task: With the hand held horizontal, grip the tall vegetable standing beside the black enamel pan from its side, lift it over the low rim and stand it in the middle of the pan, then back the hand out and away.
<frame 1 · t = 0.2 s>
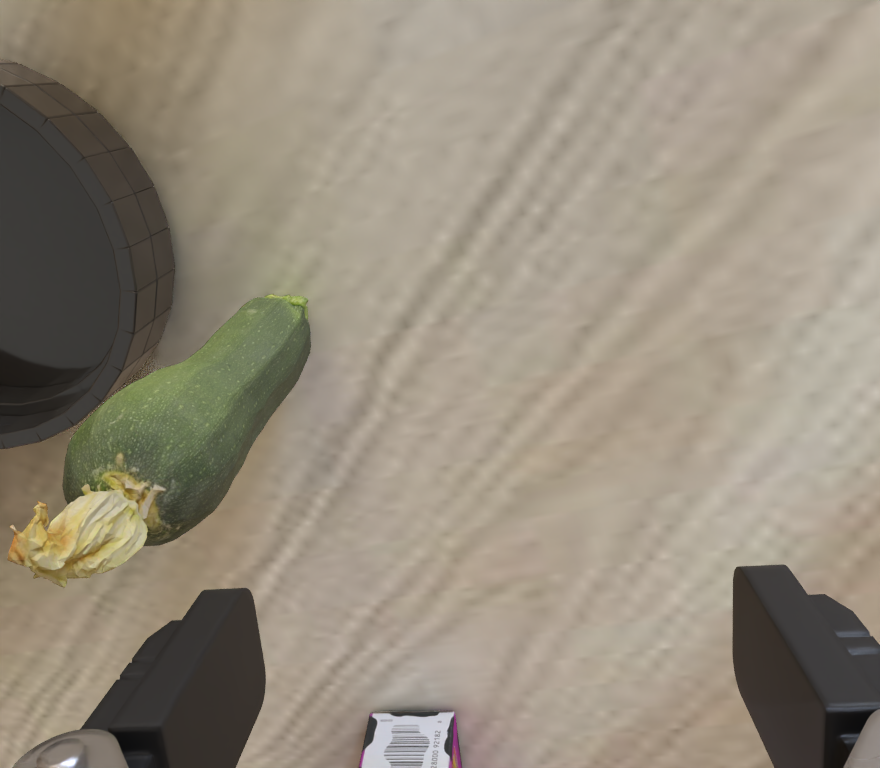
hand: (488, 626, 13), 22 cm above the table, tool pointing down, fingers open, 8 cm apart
pan: (6, 244, 35), on the table
vegetable: (277, 319, 36), on the table
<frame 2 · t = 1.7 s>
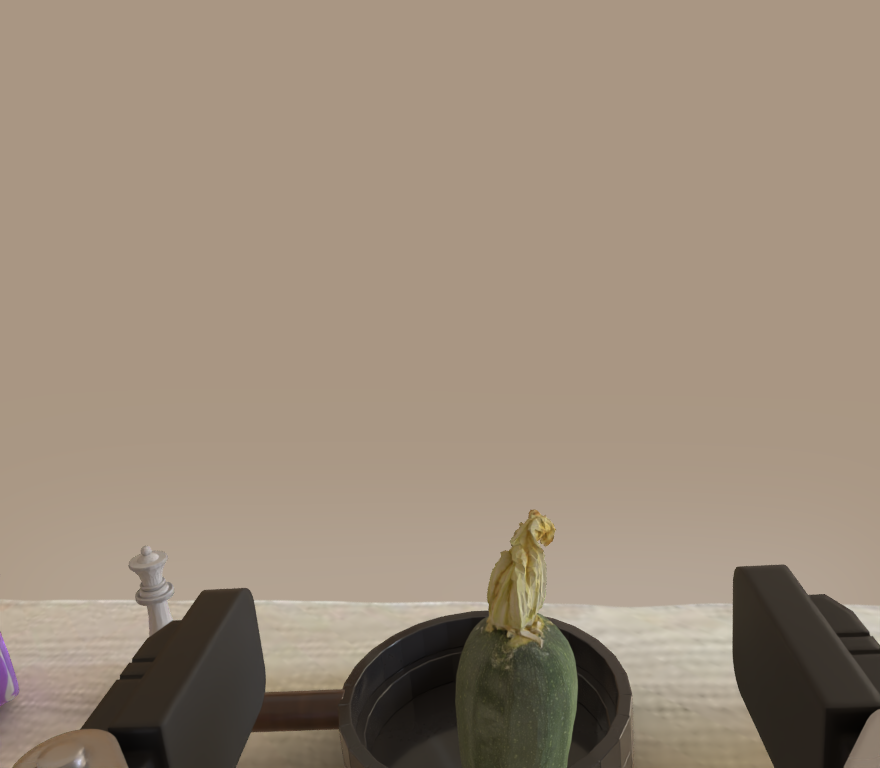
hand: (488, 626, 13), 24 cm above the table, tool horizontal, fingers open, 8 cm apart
chess piece: (174, 685, 53), on the table
pan: (489, 759, 44), on the table
pan handle: (247, 712, 44), point 3 cm above the table
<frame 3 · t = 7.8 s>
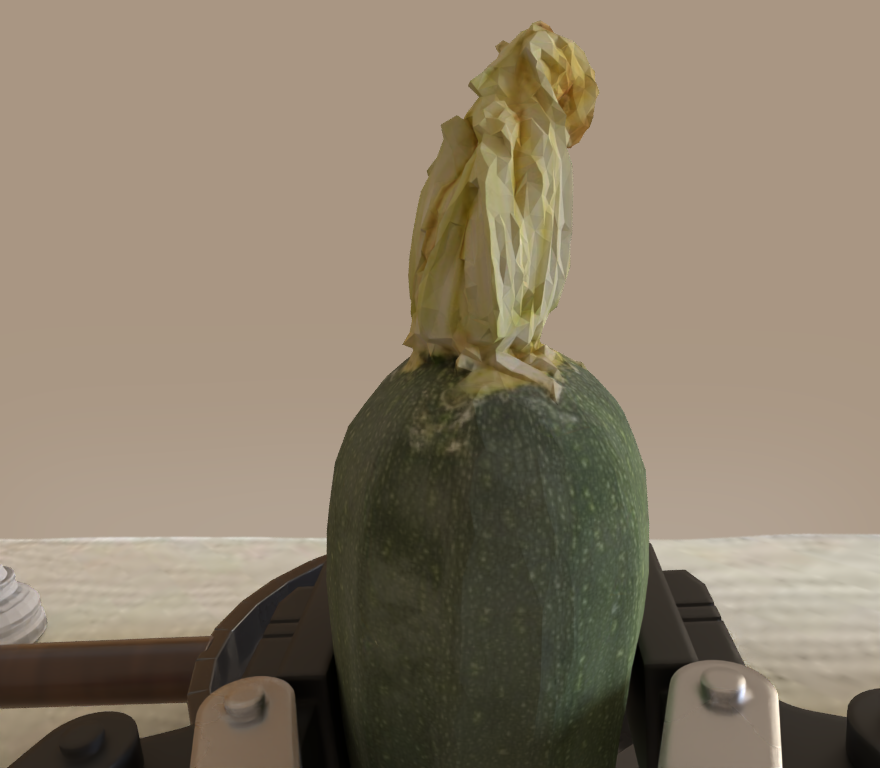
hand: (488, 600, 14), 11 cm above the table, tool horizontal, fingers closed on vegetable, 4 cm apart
pan: (456, 756, 26), on the table
pan handle: (52, 674, 26), point 3 cm above the table
when the fingers open (12 cm above the table, at t = 15.2 s): vegetable stays where it is, resting on pan.
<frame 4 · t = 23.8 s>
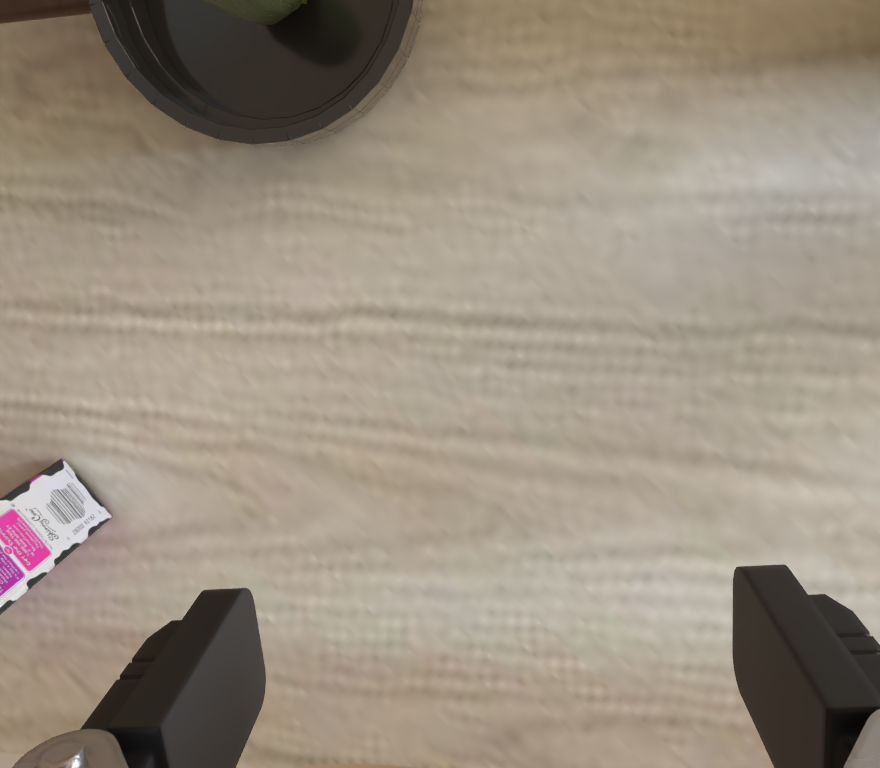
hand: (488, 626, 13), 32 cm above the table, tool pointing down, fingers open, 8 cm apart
candy bar box: (27, 529, 50), on the table
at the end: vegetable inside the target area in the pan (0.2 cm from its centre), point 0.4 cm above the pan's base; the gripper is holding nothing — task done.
